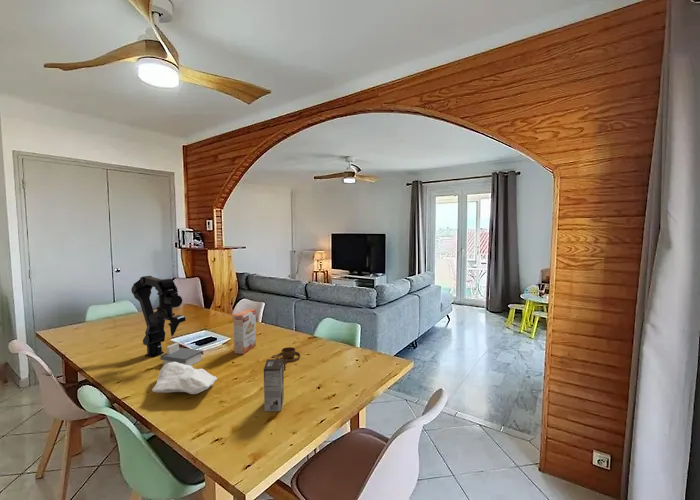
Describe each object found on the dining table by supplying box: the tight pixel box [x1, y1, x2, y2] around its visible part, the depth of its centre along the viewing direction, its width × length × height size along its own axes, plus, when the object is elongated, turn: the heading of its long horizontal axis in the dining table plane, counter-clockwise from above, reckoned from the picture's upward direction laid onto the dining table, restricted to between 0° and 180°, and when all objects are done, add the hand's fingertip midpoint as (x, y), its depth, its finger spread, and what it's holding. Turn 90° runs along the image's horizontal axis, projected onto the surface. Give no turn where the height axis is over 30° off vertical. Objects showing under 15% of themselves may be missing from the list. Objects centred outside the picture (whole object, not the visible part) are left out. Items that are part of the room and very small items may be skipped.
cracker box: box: [233, 308, 257, 355], centre depth 184 cm, size 14×6×21 cm, turn 168°
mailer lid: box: [159, 342, 204, 363], centre depth 168 cm, size 15×12×6 cm
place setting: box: [271, 346, 301, 371], centre depth 170 cm, size 18×20×6 cm
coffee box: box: [263, 358, 285, 412], centre depth 128 cm, size 9×6×16 cm
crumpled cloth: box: [151, 362, 218, 395], centre depth 141 cm, size 24×35×9 cm
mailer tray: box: [162, 353, 202, 366], centre depth 168 cm, size 14×10×4 cm
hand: (167, 334), depth 170 cm, fingers open, 6 cm apart
